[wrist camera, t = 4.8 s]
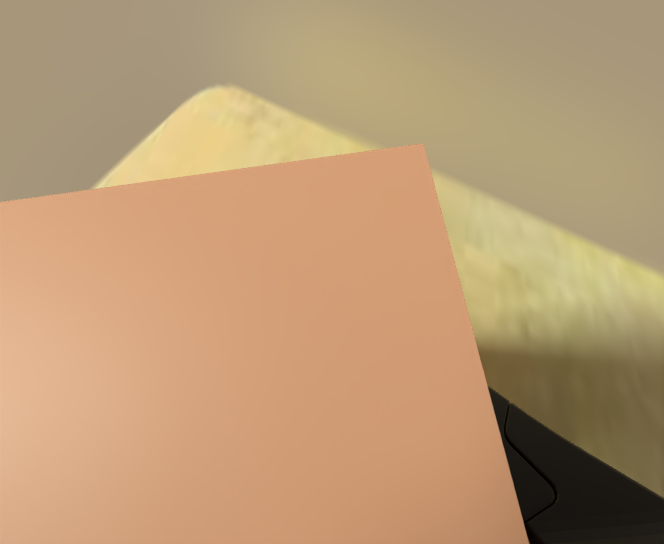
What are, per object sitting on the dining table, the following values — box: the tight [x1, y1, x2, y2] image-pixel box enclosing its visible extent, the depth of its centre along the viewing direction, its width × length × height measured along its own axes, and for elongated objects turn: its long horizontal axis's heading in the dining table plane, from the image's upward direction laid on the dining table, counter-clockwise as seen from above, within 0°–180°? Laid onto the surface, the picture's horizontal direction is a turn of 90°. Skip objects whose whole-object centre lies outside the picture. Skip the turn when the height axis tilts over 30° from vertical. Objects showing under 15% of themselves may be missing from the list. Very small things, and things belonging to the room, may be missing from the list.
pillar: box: [0, 144, 529, 544], centre depth 8 cm, size 5×5×12 cm
